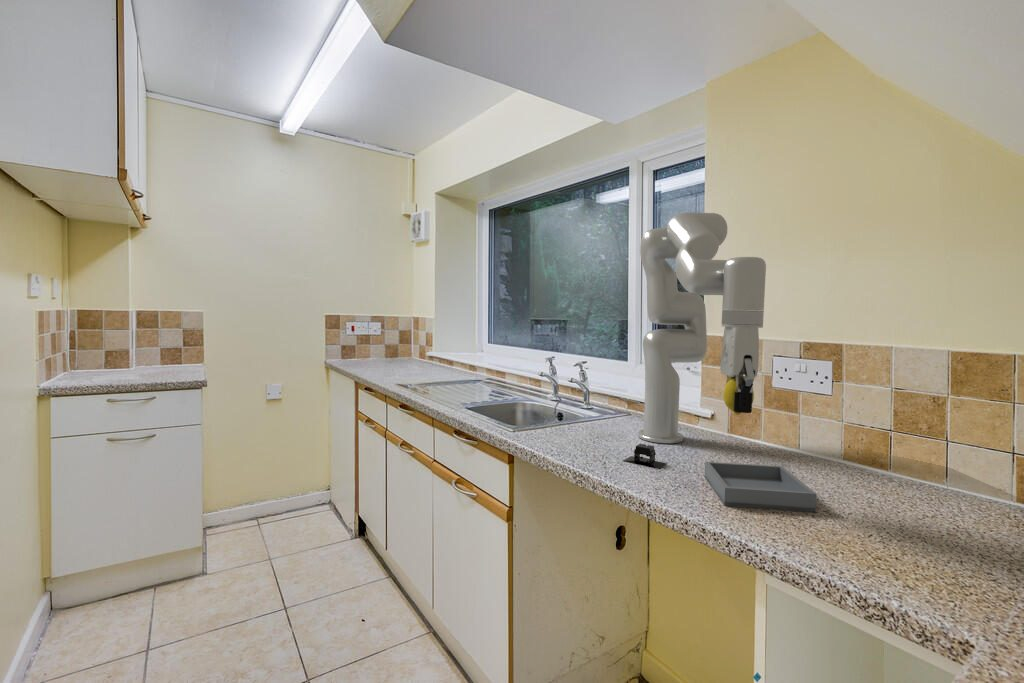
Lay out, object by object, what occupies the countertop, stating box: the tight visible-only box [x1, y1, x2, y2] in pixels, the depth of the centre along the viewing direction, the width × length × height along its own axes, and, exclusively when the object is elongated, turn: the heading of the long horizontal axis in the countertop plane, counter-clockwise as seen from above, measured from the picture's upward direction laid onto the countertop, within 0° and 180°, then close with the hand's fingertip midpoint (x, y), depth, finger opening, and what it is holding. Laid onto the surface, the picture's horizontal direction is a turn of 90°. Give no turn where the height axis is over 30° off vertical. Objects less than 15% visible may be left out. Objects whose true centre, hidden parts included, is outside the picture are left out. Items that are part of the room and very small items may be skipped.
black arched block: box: [622, 443, 668, 470], centre depth 117 cm, size 12×7×5 cm, turn 52°
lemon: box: [723, 378, 755, 416], centre depth 97 cm, size 6×6×8 cm
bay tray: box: [704, 461, 817, 513], centre depth 98 cm, size 16×16×4 cm
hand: (738, 408), depth 97 cm, fingers closed on lemon, 5 cm apart
